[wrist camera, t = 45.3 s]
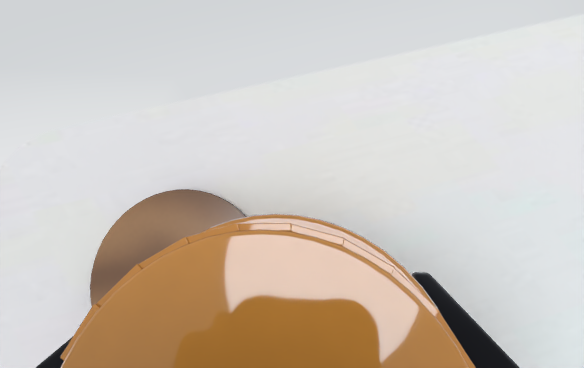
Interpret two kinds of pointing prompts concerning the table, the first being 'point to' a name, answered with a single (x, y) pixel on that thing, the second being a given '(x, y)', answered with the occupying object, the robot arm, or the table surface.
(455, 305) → the robot arm
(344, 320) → the jar
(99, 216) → the table surface
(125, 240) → the coaster
